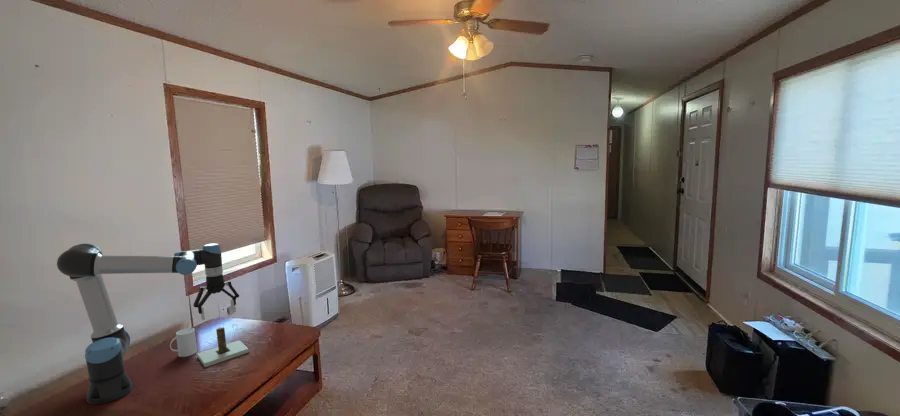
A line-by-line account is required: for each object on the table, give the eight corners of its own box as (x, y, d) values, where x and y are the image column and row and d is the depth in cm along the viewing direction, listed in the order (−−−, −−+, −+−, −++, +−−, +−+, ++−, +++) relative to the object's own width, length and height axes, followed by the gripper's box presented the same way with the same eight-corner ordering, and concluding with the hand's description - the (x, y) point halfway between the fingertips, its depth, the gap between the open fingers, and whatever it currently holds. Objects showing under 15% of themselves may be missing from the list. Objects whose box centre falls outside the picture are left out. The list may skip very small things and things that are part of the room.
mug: (173, 361, 203) (170, 338, 201) (168, 356, 208) (165, 334, 206) (200, 352, 212) (197, 330, 210) (194, 347, 217) (191, 326, 215)
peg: (220, 357, 205) (217, 331, 203) (218, 355, 208) (215, 329, 206) (228, 354, 208) (225, 328, 206) (226, 352, 210) (223, 326, 209)
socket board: (204, 367, 196) (204, 363, 196) (197, 357, 206) (197, 353, 206) (248, 352, 210) (248, 348, 210) (239, 343, 220) (239, 340, 220)
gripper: (187, 282, 191) (191, 325, 194) (243, 270, 208) (247, 310, 211) (183, 278, 196) (188, 320, 199) (238, 268, 213) (242, 306, 216)
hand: (218, 315), depth 205 cm, fingers open, 13 cm apart
